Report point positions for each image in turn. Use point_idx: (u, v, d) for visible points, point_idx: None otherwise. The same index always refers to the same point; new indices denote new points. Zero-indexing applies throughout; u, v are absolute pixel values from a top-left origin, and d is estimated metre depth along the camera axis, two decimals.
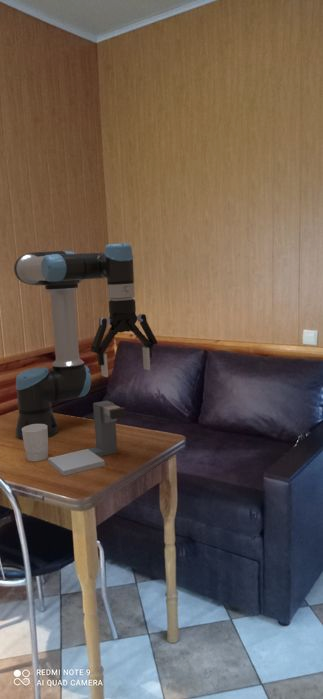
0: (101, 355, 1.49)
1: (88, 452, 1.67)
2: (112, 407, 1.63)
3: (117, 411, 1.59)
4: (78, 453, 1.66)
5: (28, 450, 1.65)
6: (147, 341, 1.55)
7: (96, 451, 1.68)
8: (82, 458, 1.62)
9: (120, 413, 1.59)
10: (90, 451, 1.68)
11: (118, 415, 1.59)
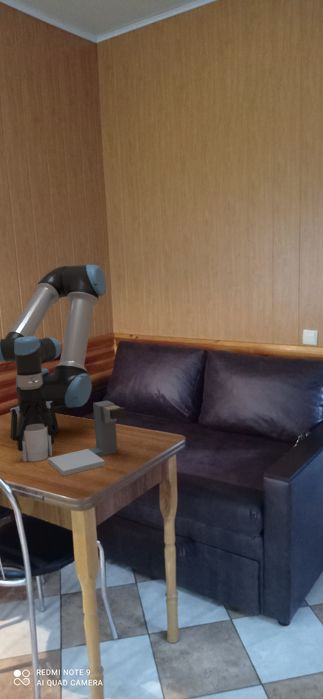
0: (21, 442, 1.64)
1: (88, 452, 1.67)
2: (112, 407, 1.63)
3: (117, 411, 1.59)
4: (78, 453, 1.66)
5: (28, 450, 1.65)
6: (50, 428, 1.68)
7: (96, 451, 1.68)
8: (82, 458, 1.62)
9: (120, 413, 1.59)
10: (90, 451, 1.68)
11: (118, 415, 1.59)
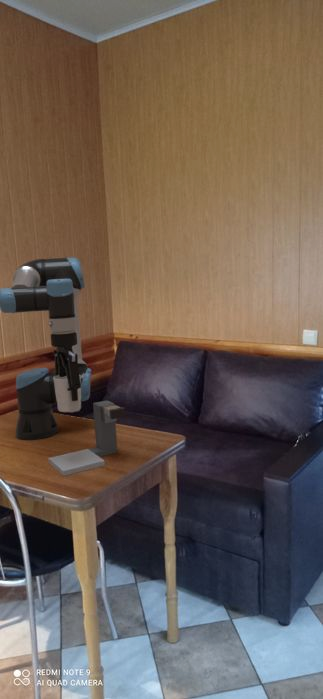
0: None
1: (88, 452, 1.67)
2: (112, 407, 1.63)
3: (117, 411, 1.59)
4: (78, 453, 1.66)
5: None
6: (68, 382, 1.53)
7: (96, 451, 1.68)
8: (82, 458, 1.62)
9: (120, 413, 1.59)
10: (90, 451, 1.68)
11: (118, 415, 1.59)
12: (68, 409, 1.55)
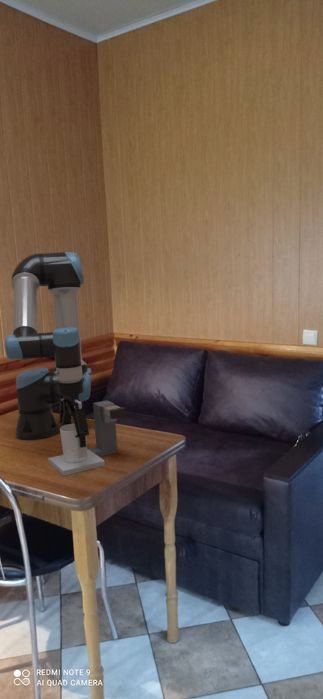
0: None
1: (88, 452, 1.67)
2: (112, 407, 1.63)
3: (117, 411, 1.59)
4: None
5: None
6: (76, 429, 1.54)
7: (96, 451, 1.68)
8: None
9: (120, 413, 1.59)
10: (90, 451, 1.68)
11: (118, 415, 1.59)
12: (74, 460, 1.58)
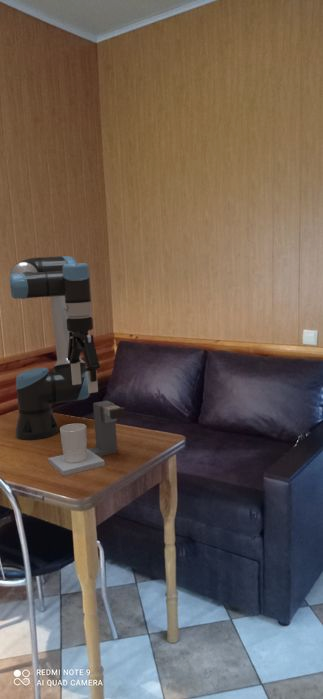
0: (72, 364, 1.64)
1: (88, 452, 1.67)
2: (112, 407, 1.63)
3: (117, 411, 1.59)
4: None
5: None
6: (87, 363, 1.51)
7: (96, 451, 1.68)
8: None
9: (120, 413, 1.59)
10: (90, 451, 1.68)
11: (118, 415, 1.59)
12: (74, 460, 1.58)
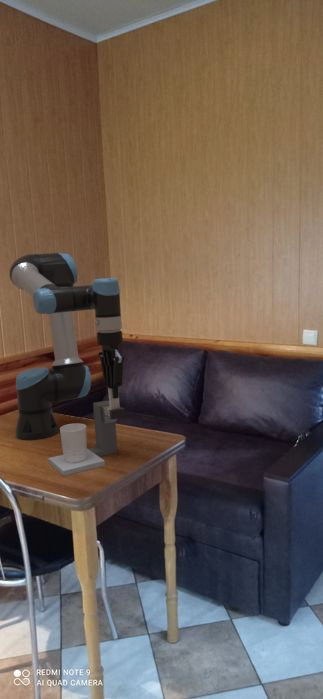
0: None
1: (88, 452, 1.67)
2: None
3: (117, 411, 1.59)
4: None
5: None
6: (111, 381, 1.58)
7: (96, 451, 1.68)
8: None
9: (120, 413, 1.59)
10: (90, 451, 1.68)
11: (118, 415, 1.59)
12: (74, 460, 1.58)
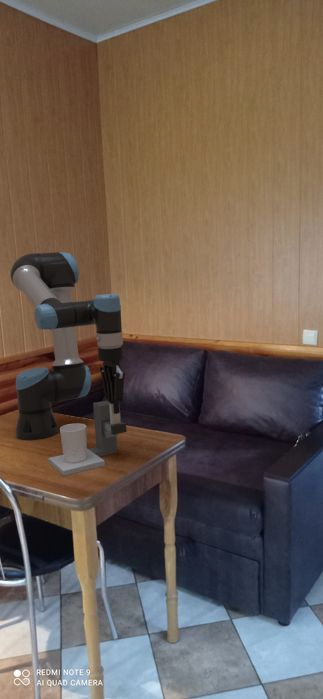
0: None
1: (88, 452, 1.67)
2: None
3: (118, 427, 1.60)
4: None
5: None
6: (112, 396, 1.59)
7: (96, 451, 1.68)
8: None
9: (121, 429, 1.60)
10: (90, 451, 1.68)
11: (119, 431, 1.60)
12: (74, 460, 1.58)
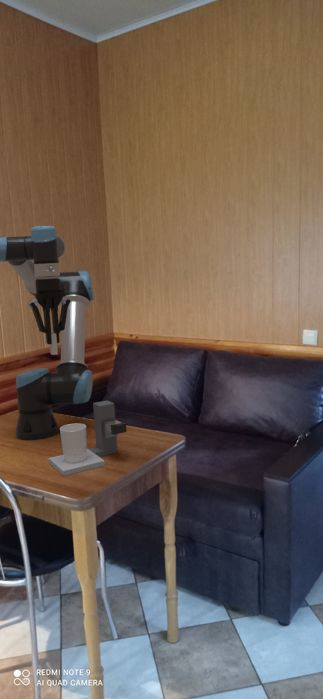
0: (51, 334, 1.64)
1: (88, 452, 1.67)
2: (113, 422, 1.63)
3: (118, 427, 1.60)
4: None
5: None
6: (57, 325, 1.65)
7: (96, 451, 1.68)
8: None
9: (121, 429, 1.60)
10: (90, 451, 1.68)
11: (119, 431, 1.60)
12: (74, 460, 1.58)
